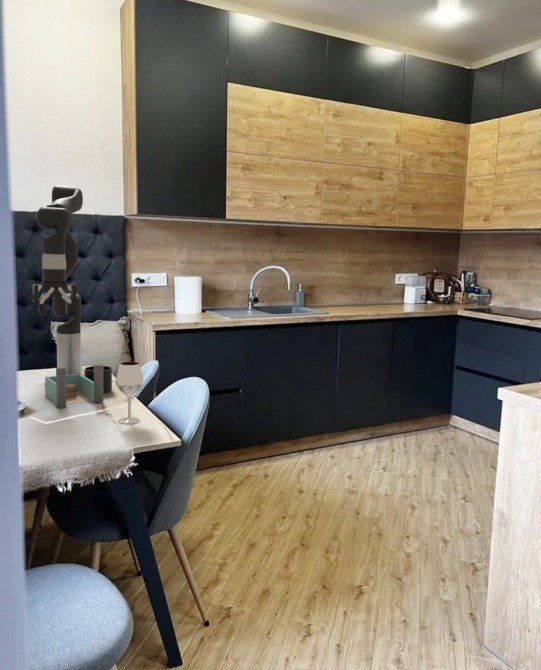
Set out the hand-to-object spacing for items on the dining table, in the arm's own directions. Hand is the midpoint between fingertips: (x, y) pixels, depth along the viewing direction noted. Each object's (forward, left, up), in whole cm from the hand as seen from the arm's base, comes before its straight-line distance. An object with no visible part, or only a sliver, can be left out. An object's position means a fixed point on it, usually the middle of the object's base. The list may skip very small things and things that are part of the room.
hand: (54, 314), depth 192 cm
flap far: (+18, +8, -28) cm, 34 cm away
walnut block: (+7, +2, -28) cm, 29 cm away
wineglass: (+41, +10, -29) cm, 51 cm away
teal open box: (+8, +2, -29) cm, 30 cm away
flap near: (+18, -3, -28) cm, 33 cm away
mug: (+2, +14, -29) cm, 32 cm away
